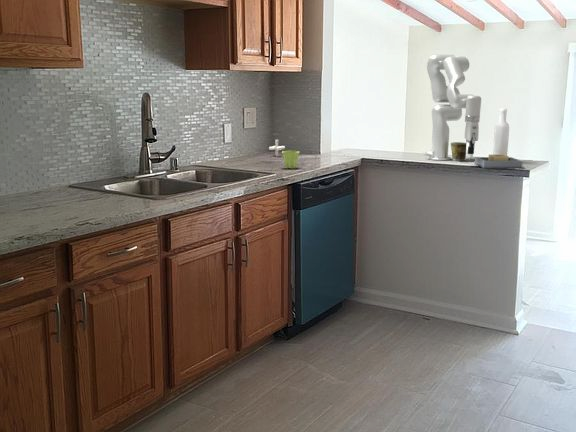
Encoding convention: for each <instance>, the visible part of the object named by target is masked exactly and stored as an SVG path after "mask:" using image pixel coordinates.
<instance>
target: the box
mask: <svg viewBox="0 0 576 432" xmlns="http://www.w3.org/2000/svg"><path fill="white" fill-rule="evenodd" d="M475 164H476V165H475ZM474 165H475V166H477V165H478V166H477V167H480V168H481V169H484V170H485V169H488V170H491V169H492V170H493V169H494V170H495V169H498V170H499V169H500V170H501V169H502V170H503V169H504V170H506V169H505V168H522V169H523V160H520V159H517V158H516V157H515V158H514V157H512V156H508V155H507V156H506V155H493V154H488V156H486V157H485V156H484V157H480V156H477V157H475V158H474Z"/></svg>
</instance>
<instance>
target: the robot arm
mask: <svg viewBox="0 0 576 432" xmlns="http://www.w3.org/2000/svg"><path fill="white" fill-rule="evenodd" d="M426 63H427V64H426V70H427V73H428V77H429V80H430V87H431V89H430V90H431V96H432V100H433V102H434V103H438V104H437V105H435V106H433V107H432V109H431V118H432V137H431V150H430V151H428V152H427V151H426V152H423V153H422V154H423V156H425V157H427V156H428V160H434V161H449V160H451V157H452V156H449V145H450V143H449V142H450V126H449V124H448V123H447V122H457V121H459V120H461V118H462V117H463V116H462V115H463V109H465V113H464V122H465V128H464V139H465V143H466V147H467V140H468V141H469V147H468V154H473V155H474V154H475V144H476V142H478V140H479V132H480V131H479V126H480V125H479V123H480V118H481V117H480V116H481V110H482V109H481V107H482V97H481V96H480V95H474V94H469V93H468V94H466V93H465V94H464V93H463V94H461V93H460V90H459V88H458V87H459V86H460V85H462V84H464V82H465V80H466V77H465V74H464V73H465V72H467V71H469V68H470V61H469V59H468V58H467V57H466V56H464V55H463V56H462V55H459V54H434V55H433V54H432V55H431V56H430V57H429V58H428V59H427V62H426ZM441 70H442V71H443V70H444V72H445V74H446V76H447V79H448V81H449V84H448V85H447V79H446V77H445V75H444V74H443V72H442V71H441ZM470 140H472V141H470ZM470 143H471V144H470ZM465 152H466V149H465Z"/></svg>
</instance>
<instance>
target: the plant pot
mask: <svg viewBox="0 0 576 432" xmlns="http://www.w3.org/2000/svg"><path fill="white" fill-rule="evenodd" d="M281 154H282V156H283V162H284V167H285V169H288V168H289V169H292V168H293V169H297V166H298V158H299V154H300V151H297V150H285V151H283V150H282V152H281Z"/></svg>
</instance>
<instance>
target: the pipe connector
mask: <svg viewBox="0 0 576 432" xmlns="http://www.w3.org/2000/svg"><path fill="white" fill-rule="evenodd" d="M274 143H275V144H274V145H273V146H269V147H268V150H269V151H274V150H275V153H274V154H275V155H274V156H275V157H279V151H282V150H285V149H286V147H285V145H281V146H280V145H279V139H275V142H274Z"/></svg>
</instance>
